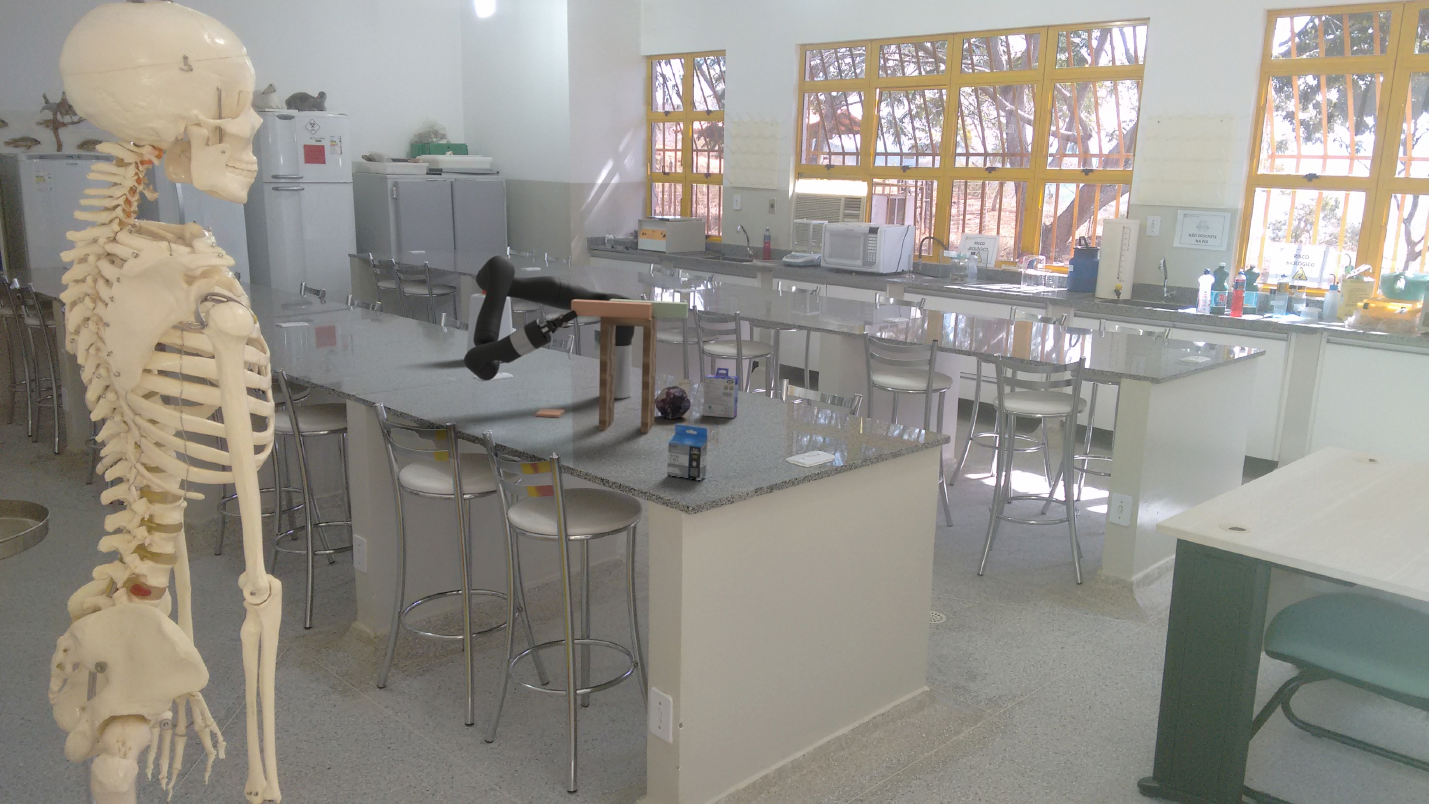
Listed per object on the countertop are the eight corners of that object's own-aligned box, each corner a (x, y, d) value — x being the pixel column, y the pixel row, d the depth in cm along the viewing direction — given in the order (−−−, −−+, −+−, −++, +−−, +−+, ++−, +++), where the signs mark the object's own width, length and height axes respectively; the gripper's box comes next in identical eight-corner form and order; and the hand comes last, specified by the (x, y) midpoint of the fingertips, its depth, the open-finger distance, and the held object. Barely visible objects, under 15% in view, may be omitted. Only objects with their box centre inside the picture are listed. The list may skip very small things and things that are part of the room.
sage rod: (611, 312, 296) (611, 298, 295) (687, 316, 294) (688, 302, 294) (608, 314, 292) (609, 300, 292) (686, 318, 290) (686, 304, 290)
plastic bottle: (491, 355, 407) (491, 284, 402) (519, 360, 399) (518, 287, 393) (462, 359, 395) (461, 286, 389) (489, 365, 387) (489, 290, 381)
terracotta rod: (574, 313, 292) (574, 299, 291) (651, 317, 290) (652, 303, 289) (571, 315, 288) (571, 300, 287) (649, 319, 286) (649, 304, 285)
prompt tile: (541, 411, 313) (541, 408, 313) (564, 412, 313) (564, 409, 312) (535, 416, 306) (535, 413, 306) (558, 417, 306) (558, 414, 306)
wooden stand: (607, 420, 304) (608, 312, 297) (654, 423, 303) (657, 314, 296) (598, 430, 292) (600, 317, 286) (647, 432, 291) (650, 319, 285)
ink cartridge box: (737, 414, 319) (739, 368, 316) (734, 418, 313) (736, 371, 310) (706, 412, 321) (708, 366, 318) (702, 416, 315) (704, 369, 312)
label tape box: (666, 476, 249) (667, 426, 246) (673, 472, 252) (675, 423, 250) (699, 481, 245) (701, 431, 243) (706, 477, 249) (708, 428, 246)
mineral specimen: (650, 407, 316) (664, 377, 315) (681, 421, 317) (695, 392, 316) (649, 413, 307) (664, 382, 305) (681, 427, 308) (696, 397, 306)
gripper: (516, 329, 285) (567, 302, 282) (530, 322, 299) (578, 296, 296) (530, 353, 286) (580, 326, 283) (543, 345, 300) (591, 319, 297)
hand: (579, 311), depth 289 cm, fingers open, 8 cm apart
